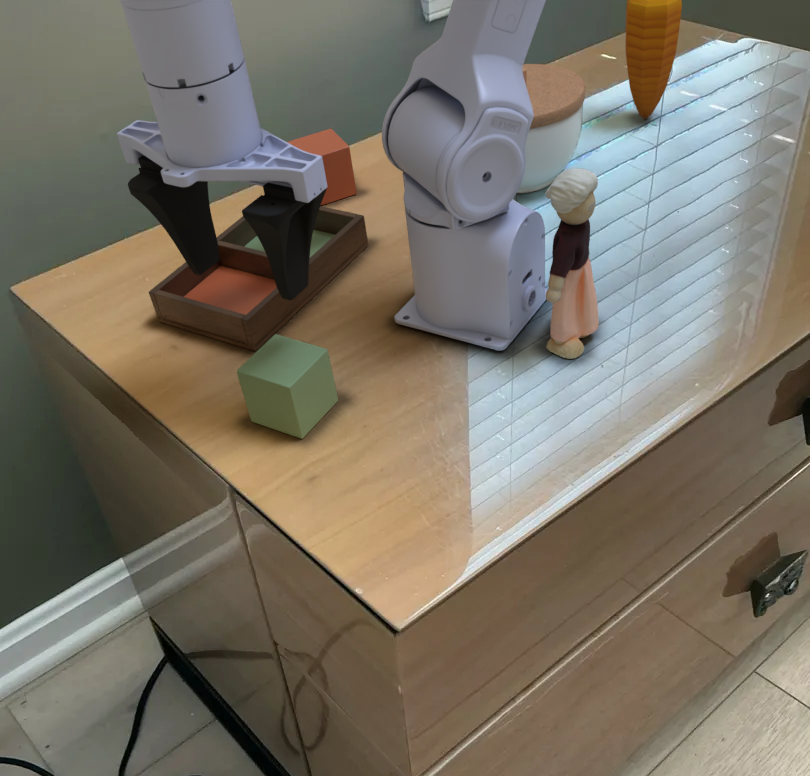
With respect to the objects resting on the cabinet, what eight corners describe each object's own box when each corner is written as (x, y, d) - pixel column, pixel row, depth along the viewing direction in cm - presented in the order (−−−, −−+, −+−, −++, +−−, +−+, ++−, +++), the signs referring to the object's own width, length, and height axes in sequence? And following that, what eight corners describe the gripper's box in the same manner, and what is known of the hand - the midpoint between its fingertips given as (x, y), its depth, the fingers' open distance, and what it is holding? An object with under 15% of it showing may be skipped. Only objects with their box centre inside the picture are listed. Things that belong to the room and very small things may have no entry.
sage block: (339, 400, 67) (328, 348, 64) (302, 439, 65) (289, 387, 61) (288, 384, 69) (275, 333, 66) (250, 421, 67) (235, 370, 63)
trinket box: (523, 219, 81) (521, 109, 74) (439, 182, 87) (429, 76, 80) (607, 170, 85) (613, 61, 78) (521, 137, 91) (519, 34, 84)
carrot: (609, 114, 92) (618, -61, 81) (656, 102, 93) (671, -73, 82) (633, 135, 89) (645, -45, 78) (681, 122, 89) (700, -58, 78)
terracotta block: (339, 174, 90) (331, 127, 87) (357, 194, 87) (349, 146, 84) (294, 188, 89) (285, 142, 86) (311, 208, 86) (302, 161, 83)
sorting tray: (368, 245, 81) (364, 215, 79) (255, 351, 72) (247, 320, 70) (275, 223, 85) (269, 194, 83) (158, 321, 76) (147, 291, 74)
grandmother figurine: (594, 368, 66) (602, 199, 57) (539, 366, 67) (538, 199, 58) (601, 305, 71) (610, 140, 62) (550, 304, 72) (551, 140, 63)
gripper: (53, 80, 54) (130, 286, 64) (250, 115, 48) (301, 338, 58) (137, 32, 58) (197, 235, 68) (330, 60, 52) (365, 278, 62)
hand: (249, 279), depth 63 cm, fingers open, 7 cm apart
